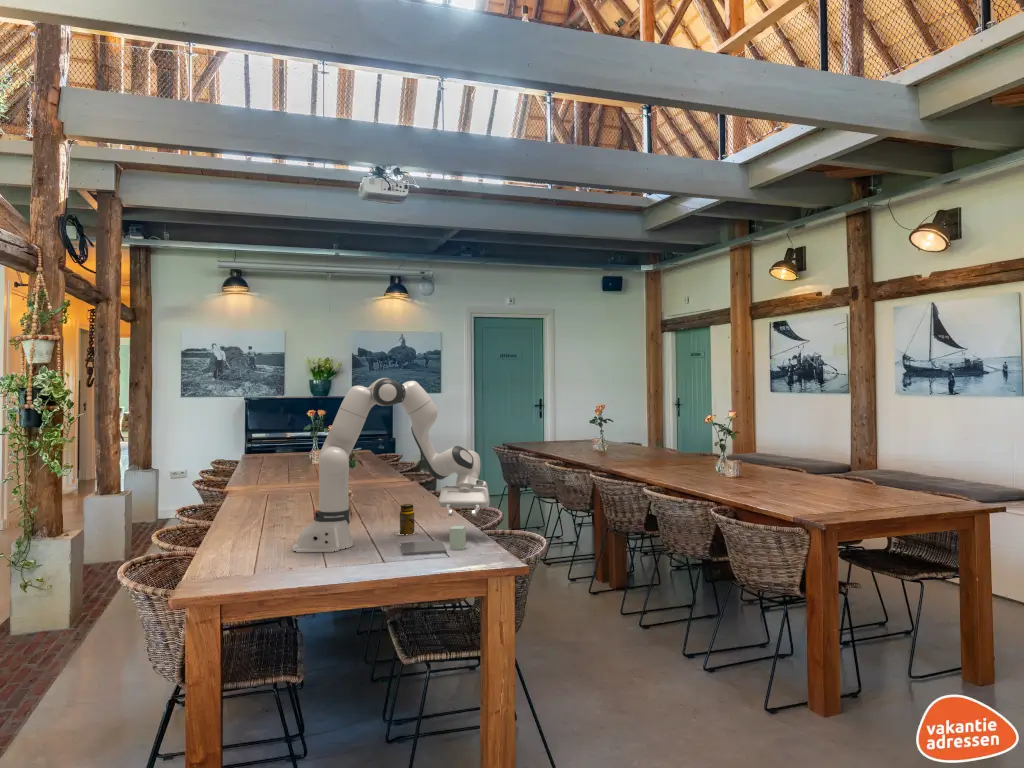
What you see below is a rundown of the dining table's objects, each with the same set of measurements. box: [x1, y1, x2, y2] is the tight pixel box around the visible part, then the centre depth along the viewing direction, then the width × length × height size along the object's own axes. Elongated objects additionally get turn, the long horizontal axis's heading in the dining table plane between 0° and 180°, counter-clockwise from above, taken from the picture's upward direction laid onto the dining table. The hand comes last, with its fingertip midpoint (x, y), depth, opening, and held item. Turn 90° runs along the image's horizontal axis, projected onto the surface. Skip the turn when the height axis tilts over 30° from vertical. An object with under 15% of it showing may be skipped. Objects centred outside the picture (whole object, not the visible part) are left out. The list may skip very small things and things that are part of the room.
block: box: [449, 525, 467, 550], centre depth 261 cm, size 5×5×8 cm
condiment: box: [393, 503, 416, 536], centre depth 288 cm, size 7×8×12 cm
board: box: [400, 540, 448, 556], centre depth 260 cm, size 16×16×1 cm
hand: (461, 515), depth 269 cm, fingers open, 8 cm apart
